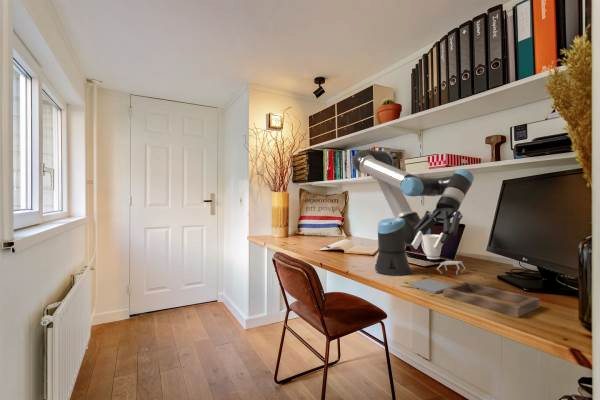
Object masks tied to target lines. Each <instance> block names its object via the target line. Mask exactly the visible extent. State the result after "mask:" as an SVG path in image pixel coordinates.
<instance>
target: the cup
mask: <svg viewBox="0 0 600 400" xmlns="http://www.w3.org/2000/svg"><path fill="white" fill-rule="evenodd" d="M439 236H440V234H434V233H433V234H430V235H422V244H421V247H422V251H423V252H424V254H425V256H426V258H427V259H429V260H439V259H441V257H440V255H441V251H442V249H441V250H440V252H437V251H436V250H435V249H434V245H435V243H436V242H437V240H438V238H439Z"/></svg>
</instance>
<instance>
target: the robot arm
mask: <svg viewBox="0 0 600 400" xmlns="http://www.w3.org/2000/svg"><path fill="white" fill-rule="evenodd" d="M352 157H353V158H352V160H351V161H352V163H351V164H352V166H353V168H354V169H355V171H357V172H359V173H361V174H363V175H370V176H371V177H372V179H374V180H376V181H377V183H378V185H379V187H380V190H381V192H382V194H383V196H384V198H385V200H386V202H387V204H388V206H389V208H390V210H391V212H392V214H393V216H394V217H391V218H384V219H381V220H379V221H378V224H377V245H378V247H377V248H378V249H377V250H378V254H377V258H376V262H375V264H374V271H375V270H376V271H377V272H376V271H375V272H376V273H378V272H380V273H379V274H381V273H383V274H382V275H386V274H389V275H388V276H403V275H405V276H407V275H408V274H411V271H412V270H411V269H412V268H411V265H410V263H409V260H408V257H407V252H406V250H407V249H406V248H407V247H408V246H412V247H413V248H414V249H415V250H417V249H418V247H419V246H420V245H422V235H431V232H432V231H431V228H432V227H433V226H434V225H437V224H438V223H440V222H441V223H442V222H443V230H442V232H441V233H440V234H439V235H440V236H439V238H438V240H437V242H436V243H435V245H434V249H435V250H436V251H437V252H440V250H441V251H442V247H443V245H446V244H447V242H448V240H449V238H451V237H456V236H457V234H458V230H459V226H460V223H461V220H462V218H463V217H464V216H463V214H462V212H461V211H460V210H459V209H460V207H461V205H462V203H463V201H464V199H465V197H466V195H467V193H468V191H469V190H470V188H471V187H472V184H473V181H474V179H475V178H474V175H473V173H472V172H471V171H470V170H468V169H465V168H461V169H460V168H459V169H457V170H455V172H454V173H453V174H452V175H449V176H448V175H447V176H445V177H444V176H443V177H419V176H416V175H414V174H411V173H410V172H408V171H407V172H406V171H404V170H402V169H399V168H397V167H395V166H394V162H395V161H394V158H393V155H392V154H391V153H389V152H388V151H386V150H385V151H384V150H374V149H373V150H372V149H361V150H359V151H357V152H356V153H355V154H354V155H353V156H352ZM424 196H425V197H436V196H438V197H439V196H440V198H439V199H438V201H437V203H436V204H435V209H434V210H433V211H429V210H426V211H425V213H424V214H423V216H422V218H420V215H419V214H418V212H417V211H413V209H412V208H411V205H410V204H409V201H407V198H406V197H424ZM451 219H452V221H451Z"/></svg>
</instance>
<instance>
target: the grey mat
mask: <svg viewBox="0 0 600 400" xmlns="http://www.w3.org/2000/svg"><path fill="white" fill-rule="evenodd" d="M407 285H410V286H413V287H416V288H415V289H417V288H419V289H418V290H420V289H422V290H421V291H424V290H426V291H425V292H427V291H429V292H428V293H431V292H432V293H431V294H434V293H437V294H440V293H444V290H443V289H444V288H447V287H451V286H454V285H453V284H449V283H444V282H440V281H436V280H432V279H428V278H427V279H422V280H418V281H414V282H410V283H408V284H407ZM410 286H409V287H410ZM413 287H412V288H413Z"/></svg>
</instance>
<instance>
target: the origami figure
mask: <svg viewBox="0 0 600 400" xmlns="http://www.w3.org/2000/svg"><path fill="white" fill-rule="evenodd" d="M448 265H449V266H453V265H456V267H457V269H456V272H455V274H456V275H458V272H460V273H461V274H463V273H464V272H463V271H465V270H466V269H467V268H466V267H465V265H464V264H463V261H461V260H459V261H457V260H445V261H443V262H440V264H439V266H438V267H436V270H437V271H438V272H440V273H439V275H441V274H443V271H441V270H440V268H441V267H442V266H443V267H444V269H445V272H447V271H448V268H447V266H448ZM459 265H461V266H462V268H463V269H461V270H460V266H459ZM459 270H460V271H459Z"/></svg>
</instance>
